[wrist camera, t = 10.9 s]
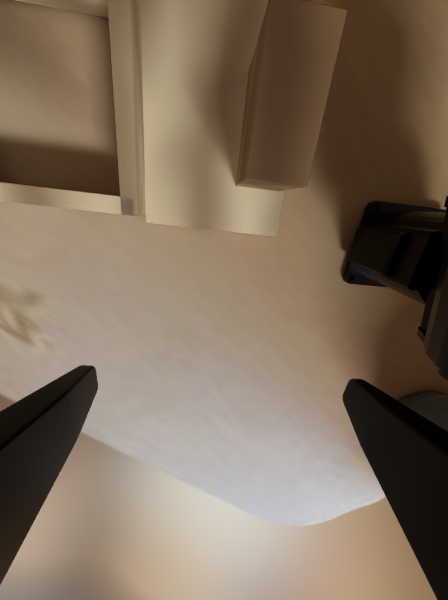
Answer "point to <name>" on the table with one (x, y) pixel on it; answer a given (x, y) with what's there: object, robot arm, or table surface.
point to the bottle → (430, 407)
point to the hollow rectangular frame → (209, 109)
